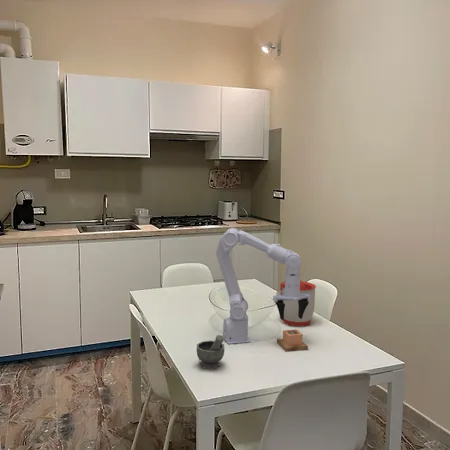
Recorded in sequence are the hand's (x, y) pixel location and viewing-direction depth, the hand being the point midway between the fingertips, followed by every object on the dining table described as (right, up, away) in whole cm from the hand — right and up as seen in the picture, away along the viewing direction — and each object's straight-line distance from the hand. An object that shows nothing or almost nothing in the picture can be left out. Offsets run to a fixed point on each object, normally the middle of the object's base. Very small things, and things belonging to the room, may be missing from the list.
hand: (291, 318), depth 177 cm
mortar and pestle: (-30, -12, -20) cm, 38 cm away
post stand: (0, -10, -2) cm, 10 cm away
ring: (0, -9, -2) cm, 9 cm away
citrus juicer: (+5, -7, +25) cm, 27 cm away
